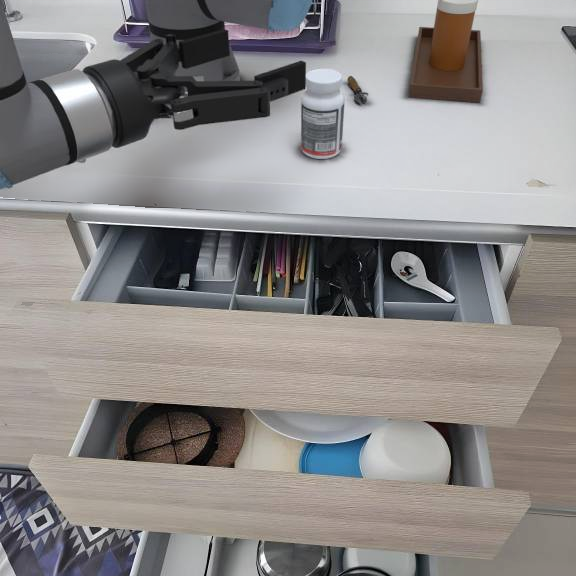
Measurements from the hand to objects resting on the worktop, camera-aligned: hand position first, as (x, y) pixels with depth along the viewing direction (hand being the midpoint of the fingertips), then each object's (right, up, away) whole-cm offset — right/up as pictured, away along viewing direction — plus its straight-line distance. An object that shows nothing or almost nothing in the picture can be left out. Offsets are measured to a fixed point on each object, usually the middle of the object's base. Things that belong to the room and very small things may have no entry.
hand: (263, 57), depth 66 cm
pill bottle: (+7, -5, +15) cm, 17 cm away
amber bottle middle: (+30, +18, +34) cm, 49 cm away
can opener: (+14, +10, +28) cm, 32 cm away
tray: (+30, +18, +35) cm, 49 cm away
